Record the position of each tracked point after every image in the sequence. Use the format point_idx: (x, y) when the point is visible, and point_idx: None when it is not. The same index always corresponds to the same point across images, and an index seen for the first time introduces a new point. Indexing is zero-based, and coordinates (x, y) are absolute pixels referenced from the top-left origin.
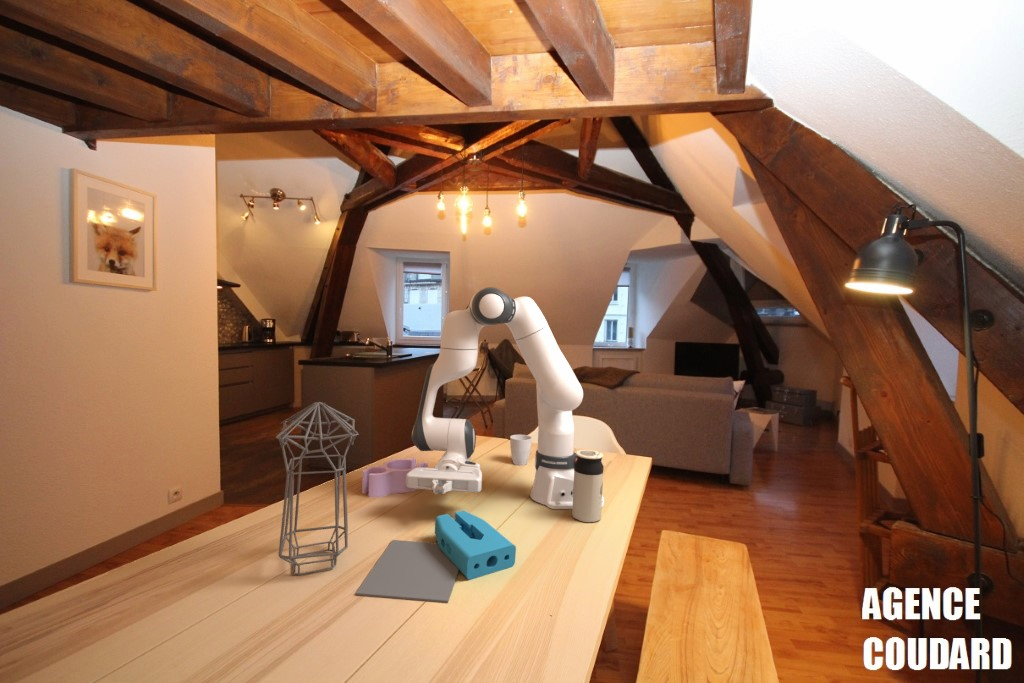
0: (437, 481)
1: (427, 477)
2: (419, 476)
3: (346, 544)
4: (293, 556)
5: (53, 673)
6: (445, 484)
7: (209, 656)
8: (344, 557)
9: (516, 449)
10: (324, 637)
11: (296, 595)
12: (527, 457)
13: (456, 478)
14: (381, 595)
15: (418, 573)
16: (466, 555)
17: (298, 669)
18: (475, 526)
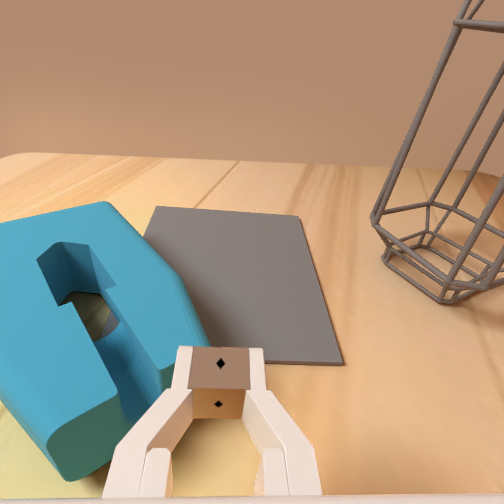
0: (262, 454)
1: (394, 494)
2: (485, 495)
3: (375, 218)
4: (427, 202)
5: (452, 170)
6: (175, 393)
7: (368, 173)
8: (397, 292)
9: None
10: (288, 181)
11: None
12: None
13: (37, 500)
14: (259, 213)
15: (217, 249)
16: (113, 207)
17: (286, 164)
18: (48, 296)
